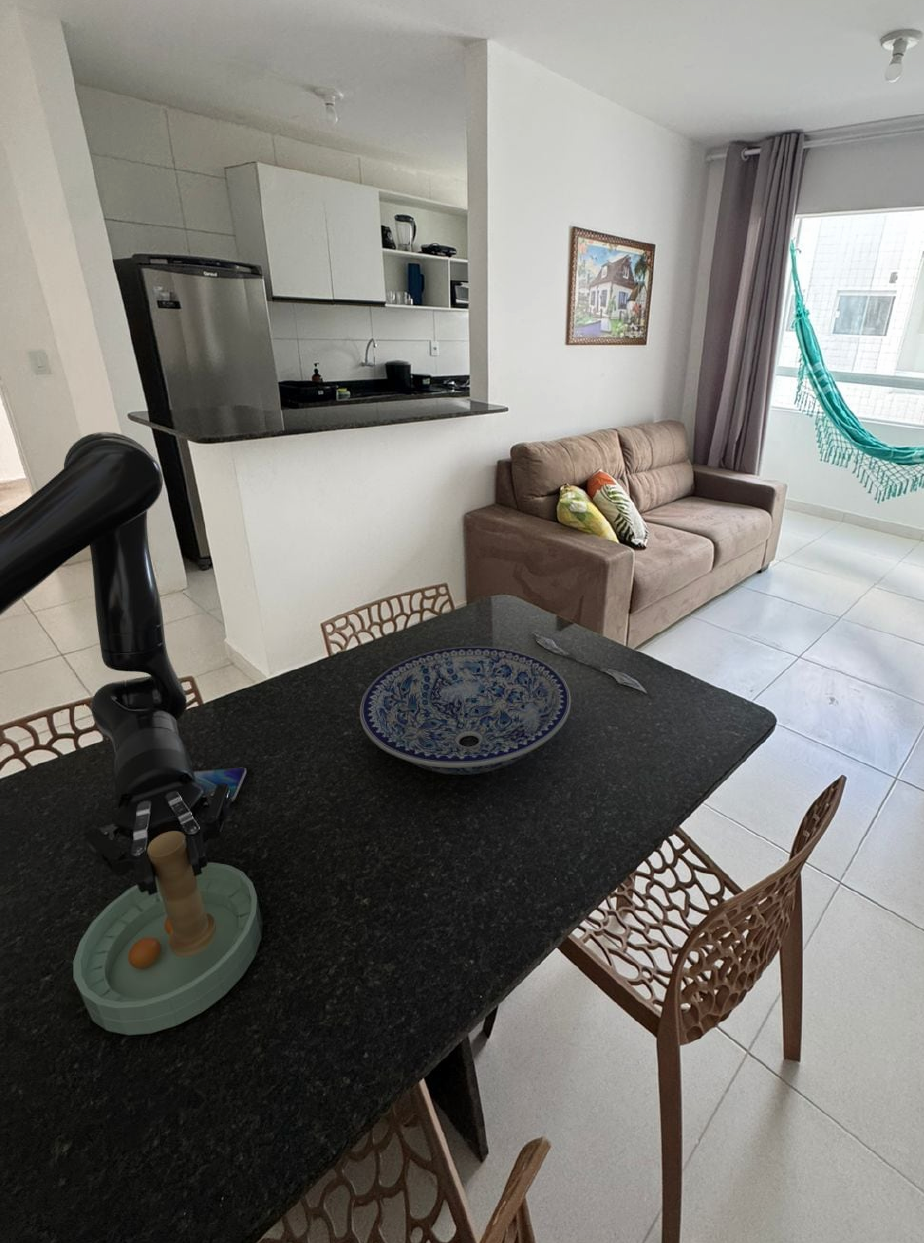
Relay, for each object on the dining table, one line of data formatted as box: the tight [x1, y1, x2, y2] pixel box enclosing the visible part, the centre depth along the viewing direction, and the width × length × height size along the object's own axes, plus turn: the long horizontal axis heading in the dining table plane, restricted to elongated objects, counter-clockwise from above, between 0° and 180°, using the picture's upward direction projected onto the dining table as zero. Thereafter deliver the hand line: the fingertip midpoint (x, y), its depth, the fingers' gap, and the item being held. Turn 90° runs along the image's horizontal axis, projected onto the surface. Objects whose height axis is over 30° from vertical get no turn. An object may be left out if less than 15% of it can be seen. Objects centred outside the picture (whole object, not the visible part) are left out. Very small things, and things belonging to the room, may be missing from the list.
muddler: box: [147, 831, 217, 957], centre depth 65 cm, size 4×4×14 cm
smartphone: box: [193, 767, 247, 806], centre depth 94 cm, size 7×1×15 cm
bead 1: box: [128, 937, 161, 969], centre depth 69 cm, size 3×3×3 cm
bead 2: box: [165, 916, 172, 934], centre depth 73 cm, size 3×3×3 cm
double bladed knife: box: [533, 632, 647, 694], centre depth 133 cm, size 32×1×5 cm
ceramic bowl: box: [359, 646, 572, 776], centre depth 106 cm, size 34×34×10 cm
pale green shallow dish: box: [72, 862, 263, 1036], centre depth 70 cm, size 17×17×5 cm
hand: (174, 877), depth 61 cm, fingers closed on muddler, 3 cm apart
